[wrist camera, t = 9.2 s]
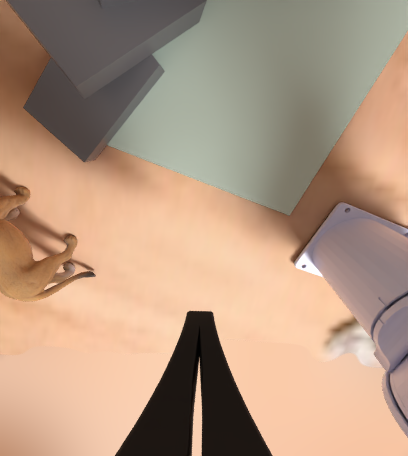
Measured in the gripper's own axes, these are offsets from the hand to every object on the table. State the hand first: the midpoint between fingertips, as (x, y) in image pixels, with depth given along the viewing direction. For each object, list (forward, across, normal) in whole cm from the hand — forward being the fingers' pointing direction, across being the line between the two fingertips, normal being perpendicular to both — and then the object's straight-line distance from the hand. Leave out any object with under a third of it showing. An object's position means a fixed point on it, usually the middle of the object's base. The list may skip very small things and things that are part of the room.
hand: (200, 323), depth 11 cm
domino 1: (+9, +2, -18) cm, 21 cm away
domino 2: (+9, +5, -15) cm, 18 cm away
